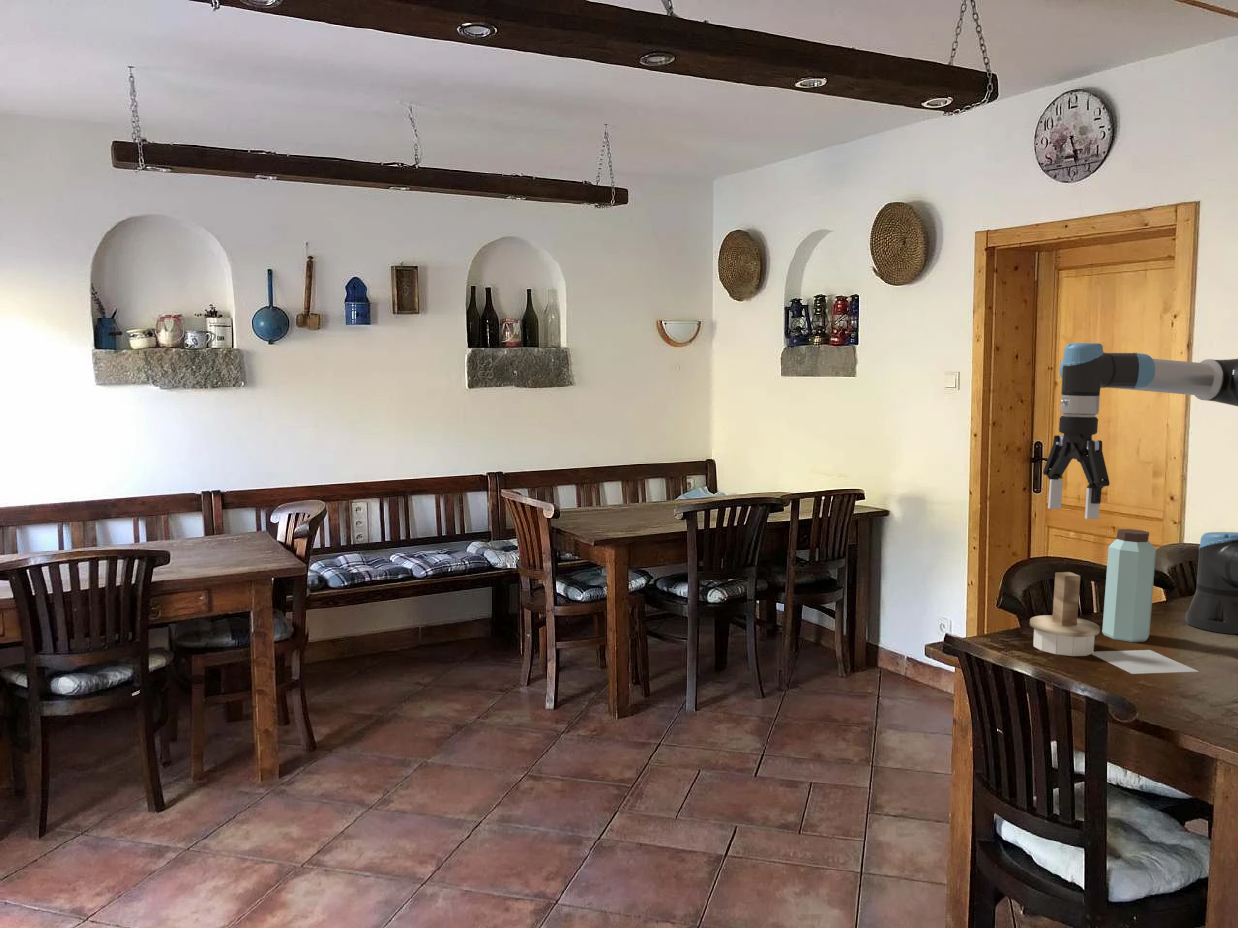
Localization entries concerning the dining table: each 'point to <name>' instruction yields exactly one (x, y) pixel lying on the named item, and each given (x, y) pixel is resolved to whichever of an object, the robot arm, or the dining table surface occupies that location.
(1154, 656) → the mat
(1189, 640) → the dining table surface
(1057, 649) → the bowl
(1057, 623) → the wooden post on disc
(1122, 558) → the water bottle
